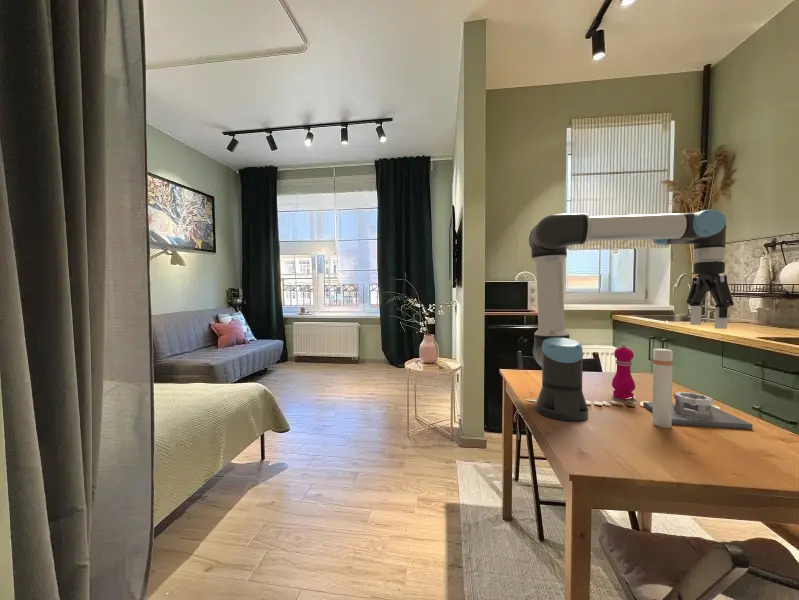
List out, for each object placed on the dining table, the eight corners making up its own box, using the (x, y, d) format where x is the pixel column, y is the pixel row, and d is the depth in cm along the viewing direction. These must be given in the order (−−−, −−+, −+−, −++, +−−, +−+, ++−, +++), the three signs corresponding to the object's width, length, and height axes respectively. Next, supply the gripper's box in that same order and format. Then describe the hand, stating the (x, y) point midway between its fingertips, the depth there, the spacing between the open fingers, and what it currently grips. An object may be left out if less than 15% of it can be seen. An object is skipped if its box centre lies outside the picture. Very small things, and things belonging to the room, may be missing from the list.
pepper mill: (639, 400, 121) (640, 344, 120) (619, 400, 121) (620, 344, 120) (626, 394, 128) (627, 341, 127) (607, 394, 128) (608, 341, 128)
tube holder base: (671, 424, 98) (671, 402, 98) (643, 406, 114) (643, 387, 114) (752, 429, 94) (752, 406, 94) (711, 410, 110) (711, 390, 110)
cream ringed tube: (657, 427, 96) (658, 350, 96) (649, 421, 101) (650, 348, 100) (675, 428, 95) (676, 351, 95) (666, 422, 100) (667, 348, 99)
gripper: (751, 257, 97) (749, 330, 97) (700, 264, 121) (699, 323, 121) (719, 258, 99) (717, 329, 99) (675, 265, 123) (674, 322, 123)
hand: (707, 326), depth 110 cm, fingers open, 13 cm apart
